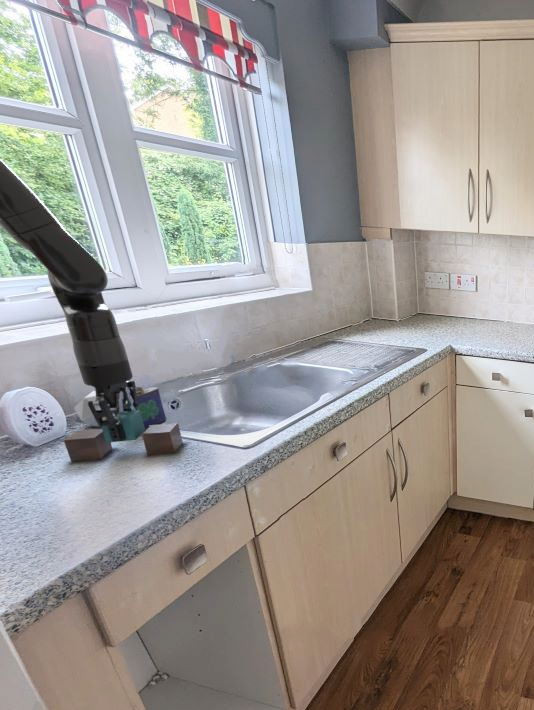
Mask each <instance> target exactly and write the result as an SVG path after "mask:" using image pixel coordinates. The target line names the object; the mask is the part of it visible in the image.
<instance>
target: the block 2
mask: <svg viewBox="0 0 534 710" xmlns="http://www.w3.org/2000/svg"><path fill="white" fill-rule="evenodd" d="M141 438H142V441H143V444H144V449H145V452H146V455H147V456H150V455H162V454H172V453H173V454H174V453H176V452H177V451H178V449H179V448H180V447H181V446H182V445H183V442H184V441H183V437H182V433H181V429H180V424H179V422H173V423H162V424H158V425H151V426H150V427H149V428H148V429H147V430H146V431H144V432H143V433H142V435H141Z"/></svg>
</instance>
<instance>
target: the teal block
mask: <svg viewBox="0 0 534 710" xmlns="http://www.w3.org/2000/svg"><path fill="white" fill-rule="evenodd" d="M113 416H114V418H115V415H114V414H113ZM121 424H122V426H123V429H124V433H125V436H126V439H125V440H124V441H123V442H128V441H129V442H132V441H136V440H138V438H140V437H141V436H142V433H143V432H144V431H145V427H144V424H143V420H142V417H141V413H140V410H135V411H123V413H121ZM100 428H101V429H102V430H103V433H104V436H105V440H106V442H107V443H108V442H111V443H114V442H113V441H112V440H111V437H110V433H109V430H108V427H107V426H101V427H100ZM120 442H121V441H119V443H120Z"/></svg>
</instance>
